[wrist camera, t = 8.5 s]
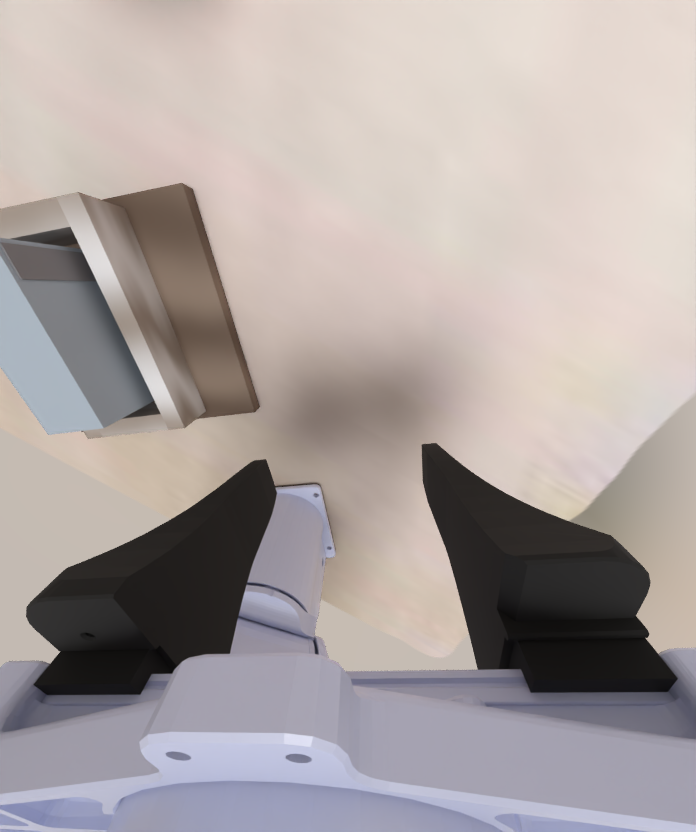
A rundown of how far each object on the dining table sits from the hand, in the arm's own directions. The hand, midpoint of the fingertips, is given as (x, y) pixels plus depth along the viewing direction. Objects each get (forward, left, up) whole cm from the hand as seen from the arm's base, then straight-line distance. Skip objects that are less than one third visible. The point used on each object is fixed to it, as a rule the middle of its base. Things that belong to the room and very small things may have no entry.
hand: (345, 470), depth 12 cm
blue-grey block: (+7, +15, -8) cm, 19 cm away
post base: (+7, +15, -9) cm, 19 cm away
